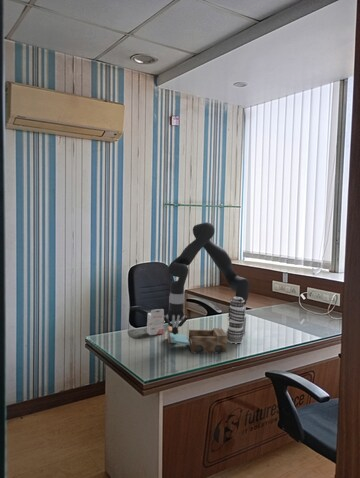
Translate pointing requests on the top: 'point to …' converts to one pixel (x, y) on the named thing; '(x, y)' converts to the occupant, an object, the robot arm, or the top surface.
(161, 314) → the ink cartridge box
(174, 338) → the tailgate
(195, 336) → the truck bed
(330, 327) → the top surface
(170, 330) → the tapered tan wedge
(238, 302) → the patterned ribbed cylinder
